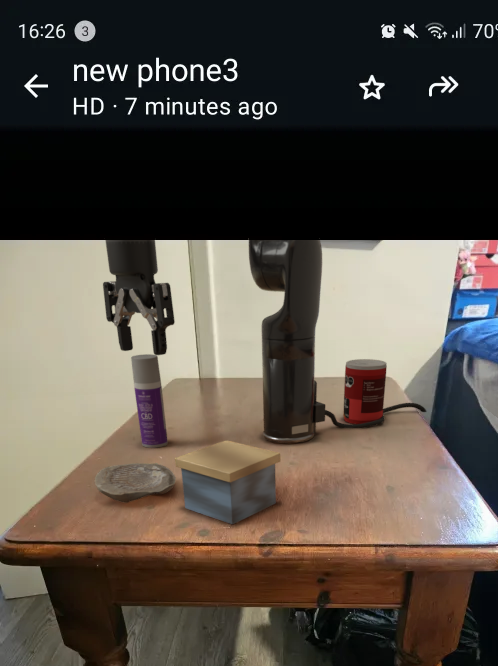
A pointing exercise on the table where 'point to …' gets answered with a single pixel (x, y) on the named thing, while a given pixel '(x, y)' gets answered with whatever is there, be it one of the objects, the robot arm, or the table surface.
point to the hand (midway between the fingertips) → (143, 352)
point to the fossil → (134, 481)
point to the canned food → (364, 390)
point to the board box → (228, 480)
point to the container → (149, 400)
